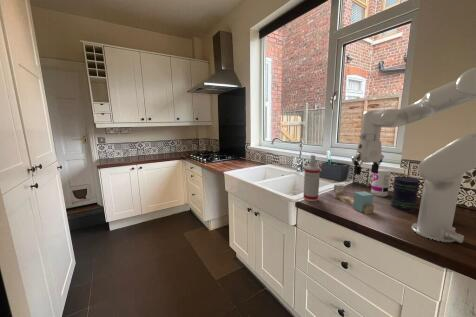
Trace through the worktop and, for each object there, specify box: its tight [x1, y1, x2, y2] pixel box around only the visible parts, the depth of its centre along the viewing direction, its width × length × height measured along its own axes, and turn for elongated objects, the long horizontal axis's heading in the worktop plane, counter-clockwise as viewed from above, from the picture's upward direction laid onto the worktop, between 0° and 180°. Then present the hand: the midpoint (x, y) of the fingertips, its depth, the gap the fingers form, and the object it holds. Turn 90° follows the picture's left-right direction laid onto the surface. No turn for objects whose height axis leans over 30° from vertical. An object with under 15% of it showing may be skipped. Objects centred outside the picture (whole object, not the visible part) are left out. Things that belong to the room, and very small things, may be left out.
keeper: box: [352, 190, 374, 213], centre depth 101 cm, size 5×6×8 cm
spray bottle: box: [302, 154, 321, 202], centre depth 114 cm, size 8×8×25 cm
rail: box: [332, 183, 375, 215], centre depth 107 cm, size 23×4×8 cm, turn 13°
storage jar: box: [390, 175, 420, 213], centre depth 103 cm, size 10×10×15 cm
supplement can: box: [370, 168, 391, 197], centre depth 121 cm, size 8×8×15 cm
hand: (365, 173), depth 98 cm, fingers open, 9 cm apart
